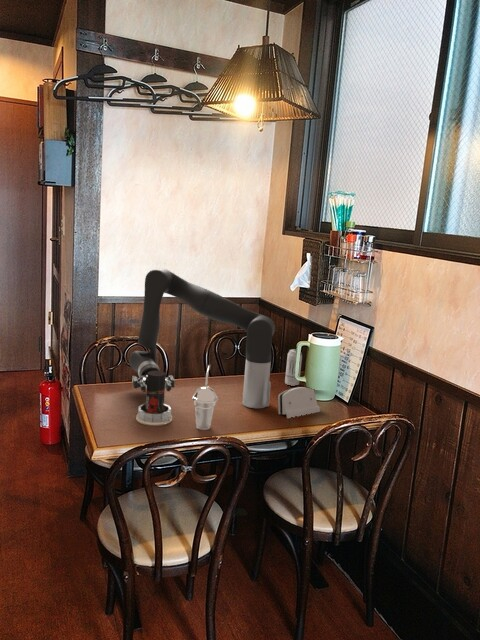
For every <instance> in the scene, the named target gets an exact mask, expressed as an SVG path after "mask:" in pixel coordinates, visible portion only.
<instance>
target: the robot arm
mask: <svg viewBox="0 0 480 640" xmlns="http://www.w3.org/2000/svg"><path fill="white" fill-rule="evenodd" d="M164 294H167V295H170V296H172V297H174V298H177V299H179V300H180V301H183V302H184V303H185V304H187V306H189V307H190V308H191V309H192V310H194V311H195V312H196V313H198V314H200V315H203V316H204V317H207V318H209V319H211V320H214V321H216V322H219V323H220V322H221V323H225V324H229V325H233V326H236V327H238V328H241V329H242V330H245V332H246V336H245V337H246V342H245V357H246V358H245V365H244V379H243V388H242V389H243V390H242V405H243V406H245V407H246V408H251V409H264V408H267V407H270V395H271V386H272V385H271V384H272V382H271V381H270V375H271V365H272V364H271V363H272V342H273V336H274V334H275V332H276V325H275V322H274V321H273V319H271V318H270V317H269V316H267V315H263V314H261V313H258V312H256V311H255V312H254V311H252V310H249V309H247V308H244V307H243V306H241V305H239V304H238V303H235V302H233V301H231V300H229V299H228V298H225V297H223V296H222V295H220V294H218V293H216V292H213V291H212V290H209V289H207V288H205V287H202V286H200V285H197V284H195V283H191V282H189V281H188V280H186V279H184V278H183V277H180V276H179V275H177V274H176V273H174V272H172V271H171V270H170V269H167V268H161V267H160V268H155V269H151V270H149V272H147V274H146V275H145V278H144V297H143V298H144V299H143V310H142V317H141V322H140V323H141V324H140V329H139V332H138V333H139V334H138V337H137V338H138V339H137V343H138V345H139V346H141V347H144V348H146V349H148V351H141V350H134V351H132V352H131V353H130V356H129V358H128V361H129V366H130V367H131V369H132V370H133V371H134V372H136V373H137V375H138V376H135V375H132V377H131V379H132V381H131V383H132V387H133V388H134V389H138V388H139V389H140V391H142V392H143V393H146V392H147V373H148V372H149V371H161V370H160V367H159V366H158V353H157V345H158V344H157V343H158V337H159V332H160V328H161V327H160V323H161V321H160V320H161V319H160V318H161V317H160V307H161V303H162V300H163V297H164ZM175 382H176V380H175V378H174V376H173V375H172V374H170V375H168V376H167V377H165V390H166V392H170V391H171V390H172V388H175Z"/></svg>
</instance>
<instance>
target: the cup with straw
mask: <svg viewBox="0 0 480 640" xmlns="http://www.w3.org/2000/svg"><path fill="white" fill-rule="evenodd" d="M210 369H211V364H208V366H207V370H206V371H205V372H206V373H205V383H204V384H205V385H204V386H201V387H198V388H197V390H195V392H194V394H192V397H191V400H193V404H194V407H195V408H194V410H195V425H196V426H195V428H196V429H198V430H202V431H207V430H210V428H211V424H212V419H213V413H214V409H215V406H216V402H218V401H219V397H218V396H217V394H216V392H215V389H213V388H212V387H210V386H208V385H209V384H208V381H209V372H210Z"/></svg>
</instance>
